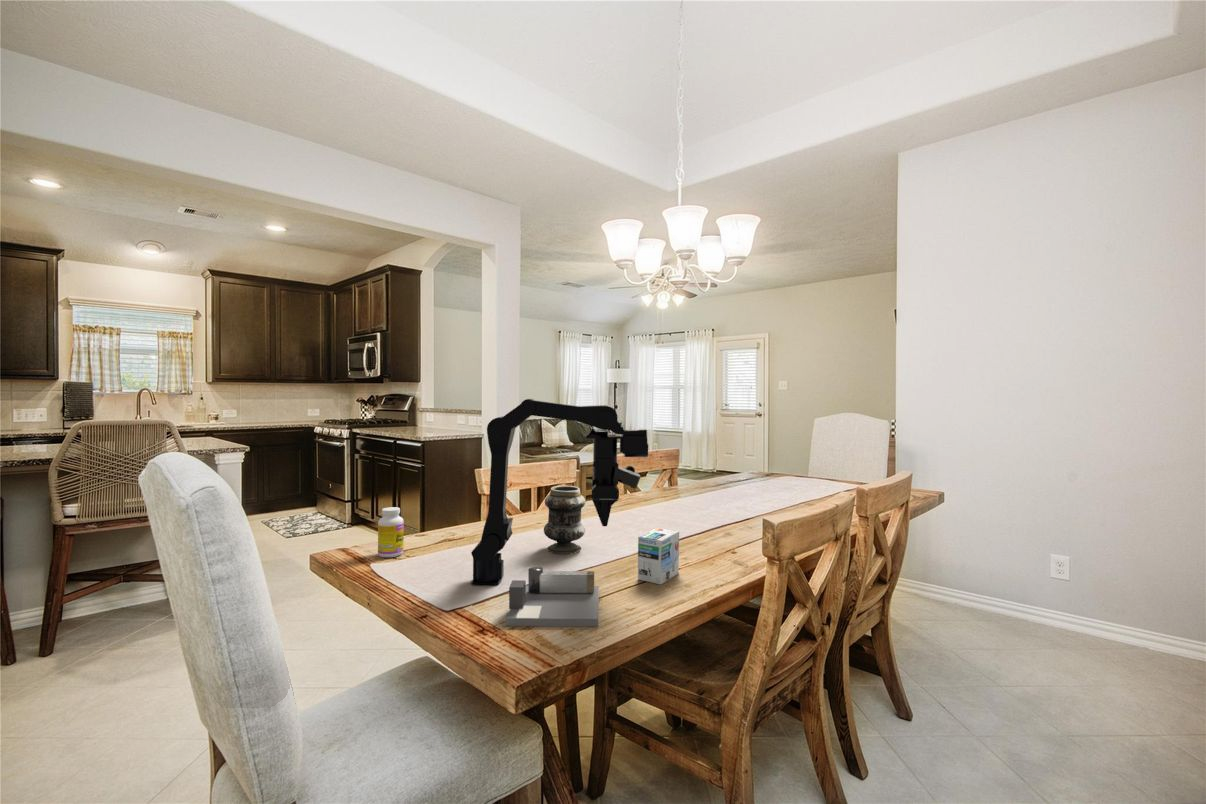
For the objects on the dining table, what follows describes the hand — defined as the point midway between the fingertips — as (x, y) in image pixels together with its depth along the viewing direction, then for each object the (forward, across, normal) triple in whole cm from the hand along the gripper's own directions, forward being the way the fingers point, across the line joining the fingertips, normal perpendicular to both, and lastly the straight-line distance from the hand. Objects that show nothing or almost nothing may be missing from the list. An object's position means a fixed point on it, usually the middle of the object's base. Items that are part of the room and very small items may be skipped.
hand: (604, 521), depth 131 cm
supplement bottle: (+15, +20, +59) cm, 64 cm away
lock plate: (+15, -16, +10) cm, 24 cm away
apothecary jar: (+15, +26, +11) cm, 32 cm away
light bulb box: (+15, +4, -14) cm, 21 cm away
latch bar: (+13, -11, +10) cm, 19 cm away
